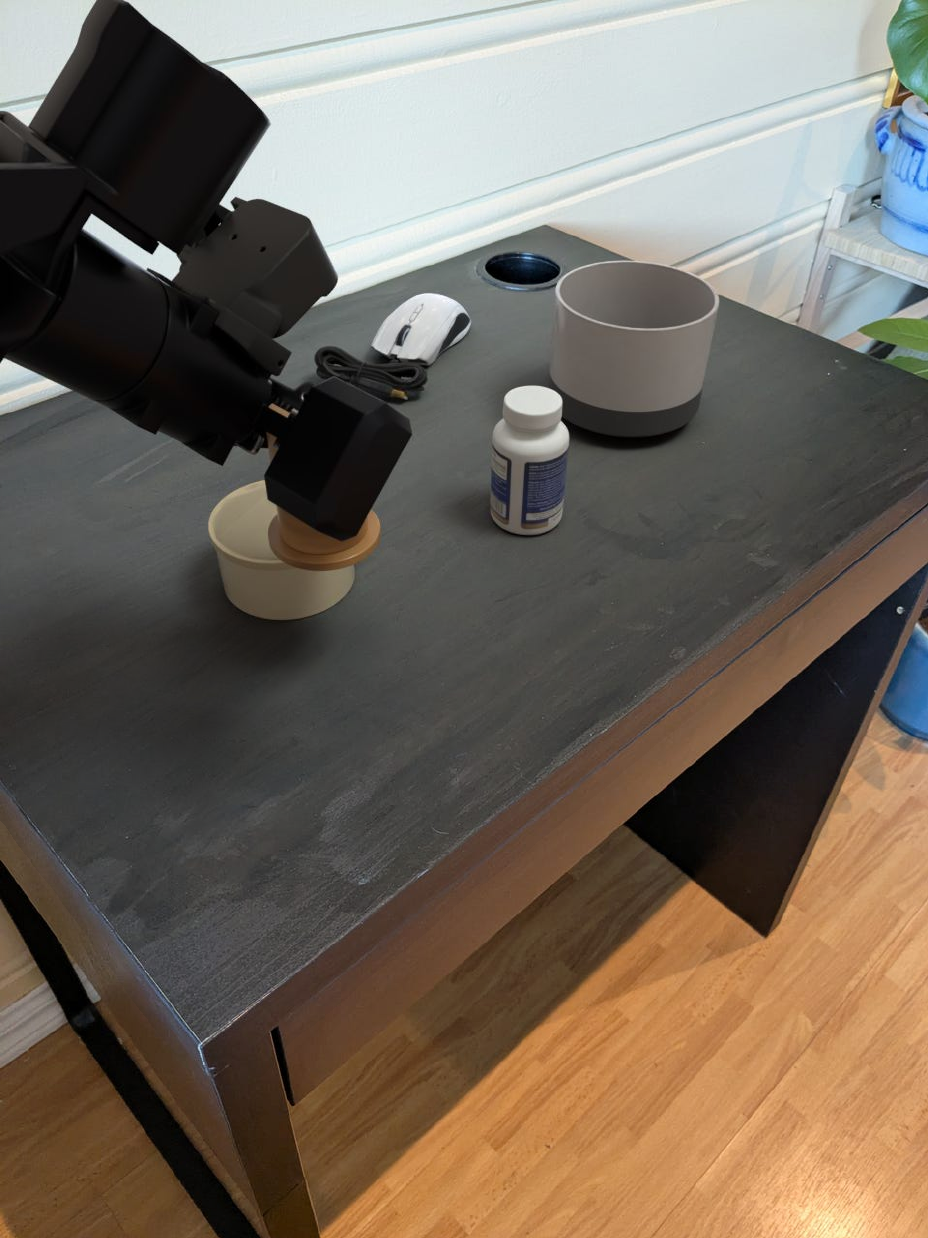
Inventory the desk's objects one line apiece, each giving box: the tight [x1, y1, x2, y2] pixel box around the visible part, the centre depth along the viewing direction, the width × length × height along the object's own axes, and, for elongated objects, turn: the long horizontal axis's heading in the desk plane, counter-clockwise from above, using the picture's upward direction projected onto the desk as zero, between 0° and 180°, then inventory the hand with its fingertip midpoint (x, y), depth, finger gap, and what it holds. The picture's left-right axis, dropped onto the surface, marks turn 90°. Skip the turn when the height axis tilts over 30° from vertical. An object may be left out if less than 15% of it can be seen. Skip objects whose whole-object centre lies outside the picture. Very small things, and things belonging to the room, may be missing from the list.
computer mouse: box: [313, 292, 472, 401], centre depth 89 cm, size 10×18×4 cm, turn 156°
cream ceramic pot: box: [207, 479, 356, 621], centre depth 64 cm, size 9×9×5 cm
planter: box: [547, 260, 720, 438], centre depth 79 cm, size 13×13×10 cm
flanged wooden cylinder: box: [266, 404, 382, 571], centre depth 53 cm, size 6×6×8 cm
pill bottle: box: [490, 385, 570, 536], centre depth 68 cm, size 5×5×10 cm
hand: (337, 459), depth 53 cm, fingers closed on flanged wooden cylinder, 5 cm apart
